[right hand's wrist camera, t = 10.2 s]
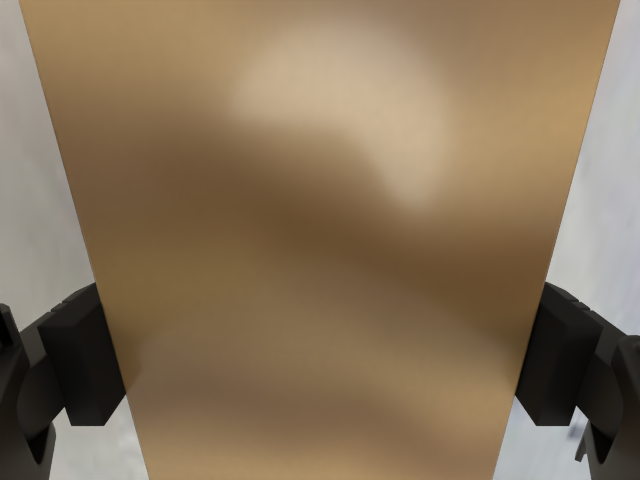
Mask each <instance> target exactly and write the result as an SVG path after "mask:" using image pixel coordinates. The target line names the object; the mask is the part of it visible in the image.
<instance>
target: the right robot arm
mask: <svg viewBox="0 0 640 480" xmlns="http://www.w3.org/2000/svg"><path fill="white" fill-rule="evenodd" d="M125 395H126V392H125V388H124V385H123V381H122V377H121V374H120V370H119V366H118V363H117V359H116V355H115V352H114V348H113V344H112V341H111V337H110V333H109V330H108V326H107V322H106V319H105V315H104V311H103V308H102V304H101V300H100V297H99V293H98V289H97V286H96V282H95V283H93V284H91V285H89V286H86V287H84V288H82V289H80V290H78V291H76V292H74V293H73V294H71V295H70V296H69V297H67V298H66V299H65V300H63V301H62V303H59V304H58V305H56V306H55V307H54V308H52V309H51V312H47V313H46V314H44V315H43V316H42V317H40V318H39V319H37V320H36V321H35V322H33V323H32V324H31V325H29V326H28V327H27V328H25V329H24V330H22V331H21V332H20V333H19V332H18V329H17V326H16V324H15V321H14V318H13V316H12V313H11V310H10V308H9V306H7V305H5V304H1V303H0V480H49V475H50V469H51V464H52V458H53V452H54V446H55V440H56V432H55V428H54V425H53V422H52V421H53V419H54V418H55V417H56V416H57V415H58V414H59V413H60V411H61V410H62V409H63V408H64V407H65V409H66V412H67V415H68V418H69V421H70V423H71V426H104V425H105V424H106V422H107V421H108V419H109V418H110V417H111V415H112V414H113V412H114V411H115V409H116V408H117V406H118V405H119V403H120V402H121V401H122V399H123V398H124V396H125ZM515 396H516V397H517V399H518V400H519V401H520V403H521V404H522V406H523V407H524V409H525V410H526V412H527V413H528V415H529V416H530V417H531V419H532V420H533V422H534V423H535V425H536V426H569V425H570V422H571V419H572V416H573V413H574V410H575V407H576V406H577V407H578V408H579V409H580V410H581V411H582V412H583V414H584V415H585V416H586V417H587V418H588V419H589V420H588V422H587V425H586V428H585V430H584V433H583V436H582V438H581V441H580V444H579V446H578V449H577V452H576V456H575V460H576V461H579V462H581V460H582V458H583V455H584V454H586V453H587V456H588V462H589V468H590V474H591V480H640V336H638V335H628V336H627V335H626V334H625V333H623V332H622V331H620V330H619V329H618V328H616V327H615V326H614V325H612V324H611V323H609V322H608V321H607V320H605V319H604V318H603V317H601V316H600V315H599V314H597V313H596V312H594V311H590V308H589V307H588V306H586V305H585V304H583V303H582V302H579V300H578V299H577V298H575V297H574V296H572V295H571V294H570V293H568V292H567V291H566V290H564V289H561V288H559V287H557V286H555V285H553V284H550V283H548V282H545V284H544V288H543V291H542V295H541V299H540V303H539V306H538V310H537V314H536V318H535V321H534V325H533V329H532V333H531V336H530V340H529V344H528V347H527V351H526V355H525V359H524V362H523V366H522V370H521V374H520V377H519V381H518V385H517V389H516V392H515Z"/></svg>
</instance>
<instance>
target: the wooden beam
mask: <svg viewBox="0 0 640 480" xmlns="http://www.w3.org/2000/svg"><path fill="white" fill-rule="evenodd" d="M19 3H20V7H21V11H22V14H23V18H24V22H25V25H26V29H27V33H28V36H29V40H30V44H31V47H32V51H33V55H34V58H35V62H36V66H37V69H38V73H39V77H40V80H41V84H42V88H43V91H44V95H45V99H46V102H47V106H48V110H49V113H50V117H51V121H52V124H53V128H54V132H55V135H56V139H57V143H58V146H59V150H60V154H61V157H62V161H63V165H64V168H65V172H66V176H67V179H68V183H69V187H70V190H71V194H72V198H73V201H74V205H75V209H76V212H77V216H78V220H79V223H80V227H81V231H82V234H83V238H84V242H85V245H86V249H87V253H88V256H89V260H90V264H91V267H92V271H93V275H94V278H95V282H96V286H97V289H98V293H99V297H100V300H101V304H102V308H103V311H104V315H105V319H106V322H107V326H108V330H109V333H110V337H111V341H112V344H113V348H114V352H115V355H116V359H117V363H118V366H119V370H120V374H121V377H122V381H123V385H124V388H125V392H126V396H127V399H128V403H129V407H130V410H131V414H132V418H133V421H134V425H135V429H136V432H137V436H138V439H139V443H140V447H141V450H142V454H143V458H144V461H145V465H146V469H147V472H148V476H149V480H492V478H493V475H494V471H495V467H496V463H497V460H498V456H499V452H500V448H501V445H502V441H503V437H504V433H505V430H506V426H507V422H508V419H509V415H510V411H511V407H512V404H513V400H514V396H515V392H516V389H517V385H518V381H519V377H520V374H521V370H522V366H523V362H524V359H525V355H526V351H527V347H528V344H529V340H530V336H531V333H532V329H533V325H534V321H535V318H536V314H537V310H538V306H539V303H540V299H541V295H542V291H543V288H544V284H545V280H546V276H547V273H548V269H549V265H550V261H551V258H552V254H553V250H554V246H555V243H556V239H557V235H558V232H559V228H560V224H561V220H562V217H563V213H564V209H565V205H566V202H567V198H568V194H569V190H570V187H571V183H572V179H573V175H574V172H575V168H576V164H577V160H578V157H579V153H580V149H581V145H582V142H583V138H584V134H585V131H586V127H587V123H588V119H589V116H590V112H591V108H592V104H593V101H594V97H595V93H596V89H597V86H598V82H599V78H600V74H601V71H602V67H603V63H604V59H605V56H606V52H607V48H608V44H609V41H610V37H611V33H612V30H613V26H614V22H615V18H616V15H617V11H618V7H619V3H620V0H19Z"/></svg>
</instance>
